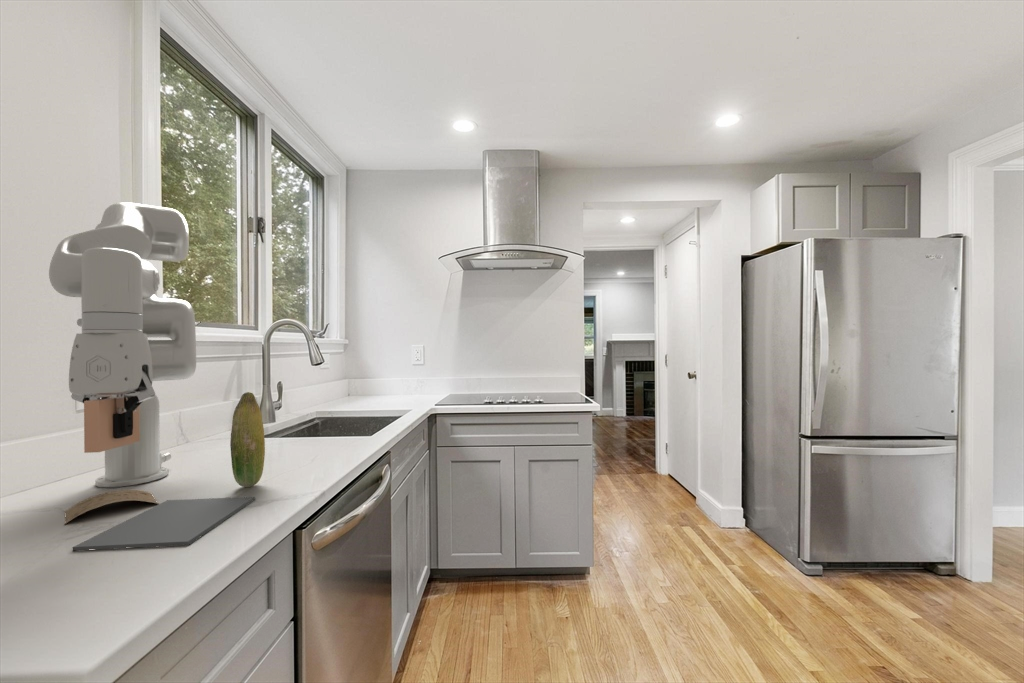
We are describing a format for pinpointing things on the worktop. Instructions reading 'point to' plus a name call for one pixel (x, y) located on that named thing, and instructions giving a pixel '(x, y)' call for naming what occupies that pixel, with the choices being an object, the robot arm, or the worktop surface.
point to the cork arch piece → (107, 501)
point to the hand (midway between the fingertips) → (114, 436)
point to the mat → (168, 524)
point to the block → (105, 426)
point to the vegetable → (247, 442)
